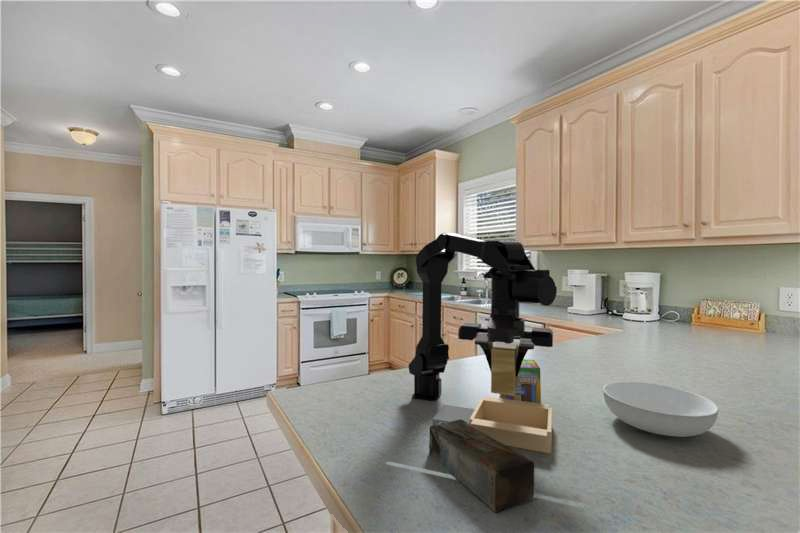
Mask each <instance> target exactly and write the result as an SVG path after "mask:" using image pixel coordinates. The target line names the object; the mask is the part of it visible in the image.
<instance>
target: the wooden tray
mask: <svg viewBox="0 0 800 533" xmlns="http://www.w3.org/2000/svg"><path fill="white" fill-rule="evenodd" d="M549 406H550V405H549V404H548V403H547V404H546V403H541V404H540V403H533V402H525V401H518V400H510V399H503V398H500V397H496V396H495V397H494V396H487V395H486V396H484V398H480V399H479V401H478V403H477V405H476V406H475V408H474V409H475V410H474V412H473V414H472V416H471V417H470V425H471V426H473V427H475V428H476V429H478V430H480V431H481V432H483V433H485V434H486V435H488V436H490V437H491V438H493V439H495V440H497V441H498V442H500V443H502V444H503V445H505V446H507V447H512V448H518V449H523V450H528V451H535V452H542V453H546V454H552V437H553V435H552V434H553V408H552V407H549Z"/></svg>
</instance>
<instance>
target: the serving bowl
mask: <svg viewBox="0 0 800 533" xmlns="http://www.w3.org/2000/svg"><path fill="white" fill-rule="evenodd" d="M602 392H603V398H604V402H605V404H606V406H607V407H608V408H609V410H610V412H611V413H612V414H613V415H614V416H616V417H617V418H618V419H619V420H621V421H622V422H623V423H625V424H627V425H630V426H632V427H634V428H637V429H639V430H642V431H645V432H647V433H648V432H649V433H651V434H655V435H661V436H668V437H677V438H679V437H682V438H685V437H694V436H698V435H702V434H704V433H706V432H708V431H709V430H710V429H711V428H713V426H714V425H715V423H716V422H717V419H718V415H719V411H720V409H719V407H718V406H717V405H716V403H715V402H713V401H711V400H710V399H709V398H707V397H704V396H702V395H699V394H697V393H694V392H691V391H688V390H685V389H681V388H679V387H674V386H669V385H665V384H659V383H654V382H653V383H652V382H645V381H631V380H630V381H627V380H626V381H625V380H624V381H614V382H610V383H606V384H605V385H604V386H603V387H602Z"/></svg>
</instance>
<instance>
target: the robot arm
mask: <svg viewBox="0 0 800 533" xmlns="http://www.w3.org/2000/svg"><path fill="white" fill-rule="evenodd" d="M523 246H524V245H523V244H522V243H521V242H520V241H513V240H483V239H479V238H474V237H469V236H465V235H461V234H458V233H456V232H455V233H454V232H451V233H450V232H443V233H440V234H439V235H438V236H437V238H435V239H434V240H432V241H431V242H429V243H427V244H425V245H424V246H423V247H422V248H421V249H420V250H419V252H418V253H417V254H416V257H415V264H416V273H417V275H418V277H419V278H420V280H421V282H422V316H421V318H422V328H421V329H422V330H421V331H422V332H421V337H420V339H419V341H418V343H417V344H416V347H415V356H414V357H413V358H412V360H411V361H410V362H409V364H408V365H407V366H408V370H409V371H408V372H409V374H411V375H412V376H414V377H413V378H414V382H413V383H414V386H413V387H414V392H413V394H412V395H411V397H412V398H414V399H421V400H427V401H436V400H437V399H438V398H439V396H441V394H442V378H440V374H441V373H445V371H446V366H447V364H448V360H450V356H449V350H450V349H449V348H450V347H449V346H450V345H449V344H448V343H445V341H444V340H443V338H442V284H443V281H444V280H445V277H446V276H447V274H448V270H449V264H450V263H451V262H452V261H453V260H454V258H455V257H456V252H457V253H461V254H463V255H468V256H471V257H476V258H478V259H480V260H481V262H482V263H483V264H485V265H487V266H488V267H490V269H489V270H488V271H487V272H486V273H485V274H484V275H483V278H484V279H491V280H490V281H491V289H490V291H491V293H490V294H491V297H490V298H491V300H490V305H491V306H490V315H489V317H488V323H487V326H486V327H482V323H476V322H465V323H463V324H461V325H460V326H459V328H458V332H457V334H458V340H463V341H464V340H465V341H473V340H474V339H475V341H474V344H475V345H476V346H477V345H478V346H479V347H480V348H481V350H482V351H483V353H484V356H485V359H486V362H487V364H488V367H489V370H490V372H491V353H492V348H493V346H494V343H496V342H504V343H507V344H509V343H512V342H515V341H514V340H519V343H518V355H517V361H516V368H515V376H516V377H517V376H518V373H519V370H520V367H521V364H522V361H523V359H525V357H526V354H527V353H528V351H529V350H534V349H535V347H544V348H552V347H554V346H553V344H554V331H553V330H552V329H551V328H550V327H535V326H533V327H532V329H531V330H526V326H525V325H526V324H525V317H520V303H522V304H529V305H535V306H542V307H543V306H544V307H549V306H550V305H552V304H553V303H554V301H555V300H556V297H557V290H558V288H557V286H556V283H555V280H554V278H553V277H552V276H550V272H551V271H550V270H549V269H535V267H534V265H533V263H532V261H531V260H530V258H529V257H528V256H527V254H526V252H525V247H523Z"/></svg>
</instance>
